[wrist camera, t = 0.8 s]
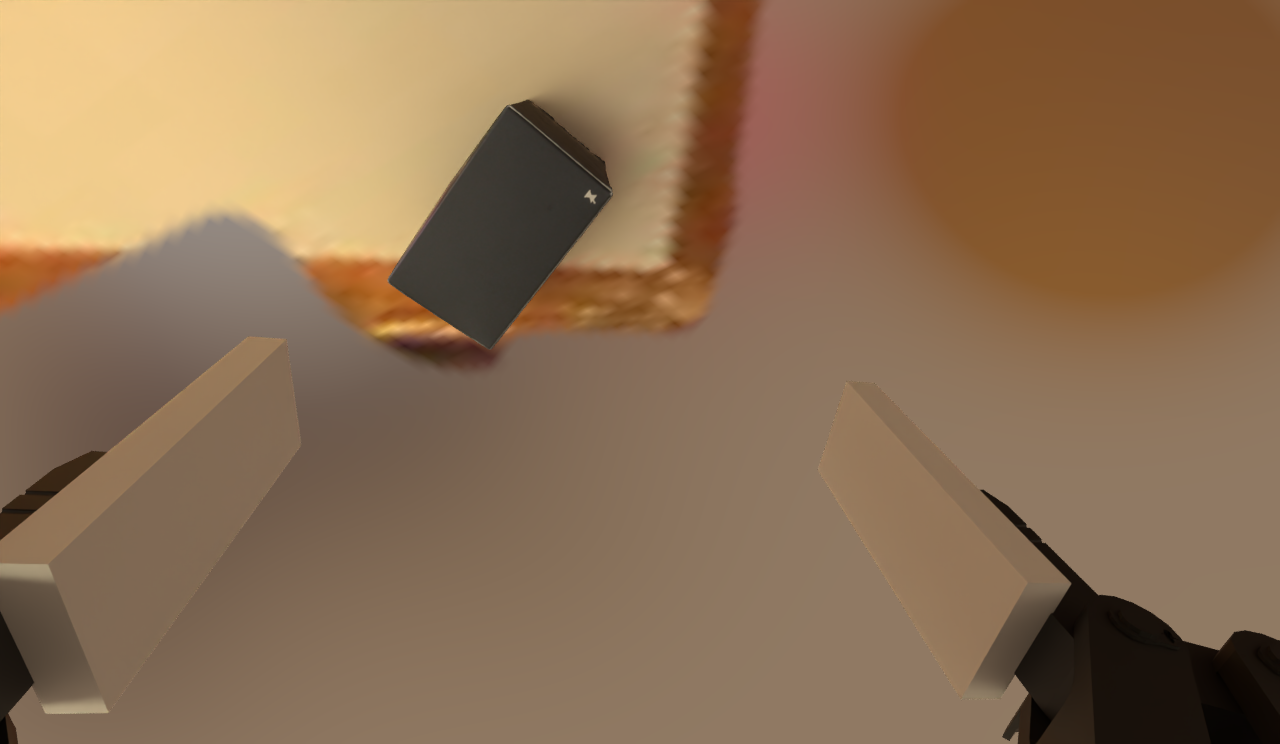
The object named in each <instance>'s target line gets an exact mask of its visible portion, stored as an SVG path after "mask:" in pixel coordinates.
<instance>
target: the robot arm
mask: <svg viewBox="0 0 1280 744" xmlns="http://www.w3.org/2000/svg"><path fill="white" fill-rule="evenodd" d="M300 446H301V439H300V431H299V424H298V417H297V410H296V403H295V396H294V389H293V381H292V374H291V367H290V361H289V354H288V346H287V339H275V338H263V337H247V338H246V339H245V340H243V341H242V342H241V343H240V344H239V345H237V346H236V347H235V348H234V349H232V350H231V351H230V352H229V353H228V354H227V355H225V356H224V357H223V358H222V359H220V360H219V361H218V362H217V363H215V364H214V365H213V366H212V367H211V368H209V369H208V370H207V371H206V372H205V373H203V374H202V375H201V376H200V377H198V378H197V379H196V380H195V381H194V382H192V383H191V384H190V385H189V386H188V387H186V388H185V389H184V390H183V391H181V392H180V393H179V394H178V395H177V396H175V397H174V398H173V399H172V400H170V401H169V402H168V403H167V404H166V405H164V406H163V407H162V408H161V409H160V410H158V411H157V412H156V413H155V414H153V415H152V416H151V417H150V418H149V419H147V420H146V421H145V422H144V423H143V424H141V425H140V426H139V427H138V428H136V429H135V430H134V431H133V432H132V433H130V434H129V435H128V436H127V437H125V438H124V439H123V440H122V441H121V442H120V443H118V444H117V445H116V446H115V447H113V448H112V449H111V450H110V451H108V452H97V451H91V452H89V453H87V454H84V455H82V456H80V457H78V458H76V459H74V460H72V461H69V462H68V463H65V464H63V465H61V466H59V467H57V468H55V469H53V470H52V471H50V472H49V473H48V474H47V475H45V476H44V477H43V478H41V479H40V480H39V481H37V482H36V483H35V484H33V485H32V486H31V487H30V488H28V489H27V490H26V493H25V495H19V496H18V497H17V498H15V499H14V500H13V501H12V502H10V503H9V504H7V505H6V506H5V507H4V508H2V512H1V513H0V744H18V740H17V733H16V728H15V726H14V724H13V722H12V721H11V718H10V716H9V714H8V712H9V711H10V710H11V709H12V708H13V707H14V706H15V704H16V703H17V702H18V701H19V700H20V699H21V698H22V696H23V695H24V694H25V693H26V692H27V691H28V690H29V688H30V687H31V686H32V687H33V689H34V691H35V693H36V695H37V697H38V699H39V701H40V703H41V705H42V707H43V709H44V711H45V713H46V714H60V713H61V714H63V713H64V714H65V713H109V711H110V710H111V709H112V707H113V706H114V704H115V703H116V702H117V700H118V699H119V698H120V696H121V695H122V693H123V692H124V691H125V689H126V688H127V686H128V685H129V684H130V682H131V681H132V680H133V678H134V677H135V675H136V674H137V673H138V671H139V670H140V668H141V667H142V666H143V664H144V663H145V662H146V660H147V659H148V657H149V656H150V655H151V653H152V652H153V650H154V649H155V648H156V646H157V645H158V643H159V642H160V641H161V639H162V638H163V636H164V635H165V634H166V632H167V631H168V630H169V628H170V627H171V625H172V624H173V623H174V621H175V620H176V618H177V617H178V616H179V614H180V613H181V612H182V610H183V609H184V607H185V606H186V605H187V603H188V602H189V600H190V599H191V598H192V596H193V595H194V593H195V592H196V591H197V589H198V588H199V586H200V585H201V584H202V582H203V581H204V580H205V578H206V577H207V575H208V574H209V573H210V571H211V570H212V568H213V567H214V566H215V564H216V563H217V561H218V560H219V559H220V557H221V556H222V554H223V553H224V552H225V550H226V549H227V548H228V546H229V545H230V543H231V542H232V540H233V539H234V538H235V536H236V535H237V534H238V532H239V531H240V530H241V528H242V527H243V525H244V524H245V523H246V521H247V520H248V518H249V517H250V516H251V514H252V513H253V511H254V510H255V508H256V507H257V506H258V504H259V503H260V502H261V500H262V499H263V498H264V496H265V495H266V493H267V492H268V490H269V489H270V488H271V486H272V485H273V484H274V482H275V481H276V479H277V478H278V477H279V475H280V474H281V473H282V471H283V470H284V468H285V467H286V466H287V464H288V463H289V461H290V460H291V459H292V457H293V456H294V454H295V453H296V451H297V450H298V449H299V448H300ZM818 471H819V473H820V475H821V476H822V478H823V479H824V481H825V483H826V484H827V486H828V487H829V489H830V491H831V492H832V494H833V495H834V497H835V499H836V500H837V502H838V503H839V505H840V507H841V508H842V510H843V511H844V513H845V515H846V516H847V518H848V519H849V521H850V523H851V524H852V526H853V527H854V529H855V531H856V532H857V534H858V536H859V537H860V539H861V540H862V542H863V543H864V545H865V547H866V548H867V550H868V551H869V553H870V555H871V556H872V558H873V560H874V561H875V563H876V564H877V566H878V567H879V569H880V571H881V572H882V574H883V576H884V577H885V579H886V580H887V582H888V583H889V585H890V587H891V588H892V590H893V592H894V593H895V594H896V596H897V598H898V600H899V601H900V603H901V604H902V606H903V608H904V609H905V611H906V612H907V614H908V616H909V617H910V619H911V620H912V622H913V624H914V625H915V627H916V628H917V630H918V632H919V633H920V635H921V636H922V638H923V640H924V641H925V643H926V644H927V646H928V648H929V649H930V651H931V652H932V654H933V656H934V657H935V659H936V660H937V662H938V664H939V665H940V667H941V668H942V670H943V672H944V673H945V675H946V676H947V678H948V680H949V681H950V683H951V684H952V686H953V688H954V689H955V691H956V692H957V694H958V696H959V697H960V699H1000V698H1001V697H1002V695H1003V694H1004V692H1005V690H1006V689H1007V687H1008V685H1009V684H1010V682H1011V680H1012V679H1013V677H1014V675H1016V676H1017V678H1018V679H1019V680H1020V681H1021V683H1022V684H1023V686H1024V687H1025V688H1026V690H1027V691H1028V692H1029V694H1028V695H1027V697H1026V698H1025V700H1024V702H1023V703H1022V705H1021V706H1020V708H1019V709H1018V711H1017V712H1016V714H1015V716H1014V717H1013V719H1012V720H1011V722H1010V723H1009V725H1008V726H1007V728H1006V730H1005V732H1004V734H1003V738H1005V739H1007V740H1009V741H1010V739H1011V737H1012V736H1013V734H1014V733H1015V732H1019V735H1018V744H1280V640H1276V639H1274V638H1271V637H1269V636H1266V635H1263V634H1260V633H1255V632H1251V631H1246V630H1245V631H1239V632H1234V633H1233V634H1232V636H1231V637H1230V638H1229V639H1228V640H1227V642H1226V643H1225V644H1224V645H1223V647H1222V648H1221V649H1220V650H1215V649H1211V648H1208V647H1204V646H1200V645H1196V644H1193V643H1189V642H1185V641H1182V639H1181V638H1180V637H1179V636H1178V635H1177V634H1176V633H1175V632H1174V631H1173V630H1172V628H1171V627H1170V626H1169V625H1167V624H1166V623H1165V622H1163V621H1162V620H1161V619H1159V618H1158V617H1156V616H1155V615H1154V614H1152V613H1151V612H1149V611H1147V610H1145V609H1143V608H1142V607H1140V606H1138V605H1136V604H1134V603H1132V602H1129V601H1126V600H1124V599H1121V598H1118V597H1115V596H1106V595H1098V594H1096V593H1095V592H1094V591H1093V590H1092V589H1091V588H1090V587H1089V586H1088V585H1087V584H1086V583H1085V582H1084V581H1083V580H1082V579H1081V578H1080V577H1079V576H1078V575H1077V574H1076V573H1075V572H1074V571H1073V570H1072V569H1071V568H1070V567H1069V566H1068V565H1067V564H1066V563H1065V562H1064V561H1063V560H1062V559H1061V558H1060V557H1059V556H1058V555H1057V554H1056V553H1055V552H1054V551H1053V550H1052V549H1051V548H1050V547H1049V546H1048V545H1047V544H1046V543H1042V541H1041V538H1040V537H1039V536H1038V535H1037V534H1036V533H1035V532H1034V531H1033V530H1032V529H1031V528H1027V527H1026V523H1025V522H1024V521H1023V520H1022V519H1021V518H1020V517H1019V516H1018V515H1017V514H1016V513H1015V512H1013V510H1011V509H1010V508H1009V507H1008V506H1007V505H1006V504H1004V503H1003V502H1001V501H999V500H998V499H997V498H995V497H993V496H992V495H990V494H989V493H987V492H986V491H984V490H979V489H978V488H977V487H976V486H975V485H974V484H973V483H972V482H971V481H970V480H969V479H968V478H967V477H966V476H965V475H964V474H963V473H962V472H961V471H960V470H959V468H958V467H957V466H955V464H954V463H952V461H951V460H949V458H948V457H947V456H946V455H944V453H943V452H942V451H941V450H940V449H939V448H938V447H937V446H936V445H935V444H934V443H933V442H932V441H931V440H930V439H929V438H928V437H927V436H926V435H925V434H924V433H923V432H922V431H921V430H920V429H919V428H918V427H917V426H916V425H915V424H914V423H913V422H912V421H911V420H910V419H909V418H908V417H907V416H906V415H905V414H904V413H903V412H902V411H901V410H900V408H899V407H898V406H897V405H895V403H894V402H893V401H891V399H890V398H889V397H888V396H887V395H886V394H885V393H884V392H883V391H882V390H881V389H880V388H879V387H878V386H877V385H876V384H875V383H867V382H853V381H846V384H845V388H844V391H843V394H842V397H841V400H840V403H839V406H838V409H837V412H836V416H835V418H834V421H833V425H832V428H831V431H830V434H829V437H828V440H827V443H826V447H825V449H824V452H823V455H822V459H821V462H820V465H819V468H818Z"/></svg>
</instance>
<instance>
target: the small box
mask: <svg viewBox="0 0 1280 744" xmlns="http://www.w3.org/2000/svg"><path fill="white" fill-rule="evenodd" d="M612 195H613V193H612V188H611V187H610V184H609V181H608V178H607V174H606V167H605V161H602V160H601V158H600V157H598V156H596V155H594V154H593V153H591V152H590V151H589V149H588V148H586V147H585V146H584V145H583V144H582V143H580V142H579V141H577V140H576V138H574V137H572V136H571V134H569V133H568V132H567V131H566V130H565V129H564V128H563V127H561V126H560V125H559V124H558V123H556V122H555V121H554V118H553V117H551V116H550V115H549V114H548V113H546V112H545V111H544V110H542V109H541V108H539V107H537V106H536V105H535V104H534V103H533V102H532V101H530V100H526V101H523V102H520V103H516V104H513V105H507V106H506V107H505V108H504V109H503V111H502V112H501V114H500V115H499V116H498V117H497V119H496V120H495V122H494V123H493V124H492V126H491V127H490V129H489V130H488V131H487V133H486V134H485V135H484V137H483V138H482V140H481V141H480V142H479V144H478V145H477V146H476V148H475V149H474V151H473V152H472V153H471V155H470V156H469V158H468V159H467V160H466V162H465V163H464V165H463V166H462V167H461V169H460V170H459V172H458V173H457V174H456V176H455V177H454V178H453V180H452V181H451V182H450V184H449V185H448V187H447V188H446V190H445V191H444V193H443V194H442V196H441V197H440V199H439V201H438V202H437V204H436V205H435V207H434V208H433V210H432V211H431V213H430V214H429V216H428V217H427V219H426V220H425V222H424V223H423V225H422V226H421V228H420V229H419V231H418V232H417V234H416V235H415V237H414V238H413V240H412V241H411V243H410V245H409V246H408V248H407V249H406V251H405V252H404V254H403V255H402V257H401V258H400V260H399V262H398V263H397V265H396V267H395V268H394V270H393V271H392V273H391V275H390V276H389V278H388V282H389V284H391V285H392V286H393V287H395V288H396V289H398V290H399V291H400V292H402V293H403V294H405V295H406V296H408V297H409V298H411V299H412V300H414V301H415V302H417V303H418V304H420V305H421V306H423V307H424V308H426V309H427V310H429V311H430V312H432V313H433V314H435V315H436V316H438V317H439V318H441V319H442V320H444V321H446V322H447V323H449V324H450V325H452V326H453V327H455V328H456V329H458V330H459V331H461V332H462V333H464V334H465V335H467V336H468V337H470V338H472V339H473V340H475V341H476V342H478V343H479V344H481V345H483V346H484V347H486V348H487V349H489V350H490V349H492V348H493V347H494V346H495V344H496V343H497V342H498V341H499V339H500V338H501V337H502V336H503V334H504V333H505V332H506V331H507V329H508V328H509V327H510V326H511V324H512V323H513V322H514V321H515V319H516V318H517V317H518V315H519V314H520V313H521V311H522V310H523V309H524V308H525V307H526V305H527V304H528V303H529V302H530V300H531V299H532V298H533V296H534V295H535V294H536V293H537V291H538V290H539V289H540V288H541V286H542V285H543V284H544V283H545V281H546V280H547V279H548V277H549V276H550V275H551V274H552V272H553V271H554V270H555V269H556V267H557V266H558V265H559V264H560V262H561V261H562V260H563V258H564V257H565V256H566V254H567V253H568V252H569V251H570V249H571V248H572V247H573V246H574V244H575V243H576V242H577V240H578V239H579V238H580V237H581V236H582V234H583V233H584V232H585V231H586V229H587V228H588V227H589V225H590V224H591V223H592V221H593V220H594V219H595V218H596V217H597V215H598V213H599V212H600V211H601V210H602V209H603V207H604V206H605V205H606V204H607V202H608V201H609V200H610V199H611V197H612Z"/></svg>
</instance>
